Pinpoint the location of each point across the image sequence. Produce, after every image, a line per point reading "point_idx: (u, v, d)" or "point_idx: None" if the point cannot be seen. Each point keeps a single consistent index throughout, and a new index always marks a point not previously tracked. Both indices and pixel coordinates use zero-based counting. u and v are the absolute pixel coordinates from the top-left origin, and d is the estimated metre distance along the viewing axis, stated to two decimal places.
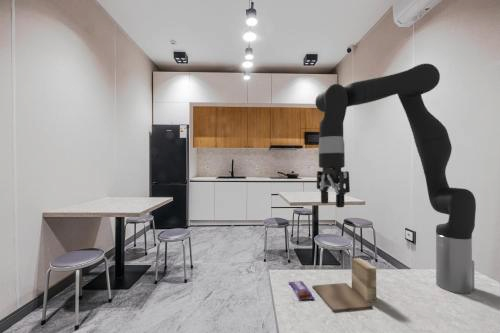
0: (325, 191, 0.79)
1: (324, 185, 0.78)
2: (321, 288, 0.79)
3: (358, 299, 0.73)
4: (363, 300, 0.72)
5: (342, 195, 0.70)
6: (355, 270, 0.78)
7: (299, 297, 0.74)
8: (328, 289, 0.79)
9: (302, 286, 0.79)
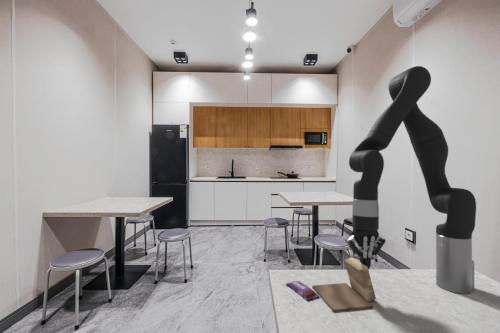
0: None
1: None
2: (321, 288, 0.79)
3: (358, 299, 0.73)
4: (363, 300, 0.72)
5: None
6: (349, 271, 0.78)
7: (306, 297, 0.74)
8: (328, 289, 0.79)
9: (303, 286, 0.79)
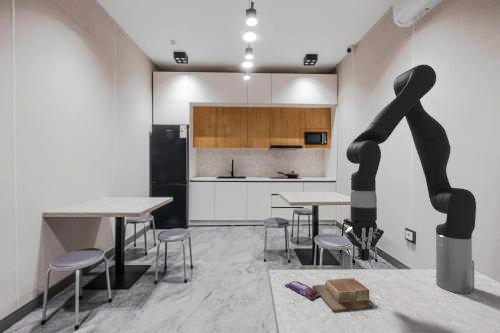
0: None
1: None
2: (321, 288, 0.79)
3: None
4: (363, 300, 0.72)
5: None
6: None
7: (310, 297, 0.74)
8: None
9: (303, 286, 0.80)
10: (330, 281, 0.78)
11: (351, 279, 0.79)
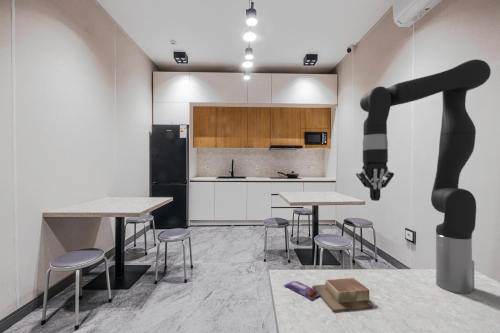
0: None
1: None
2: (321, 288, 0.79)
3: None
4: (363, 300, 0.72)
5: None
6: None
7: (310, 297, 0.74)
8: None
9: (303, 286, 0.79)
10: (330, 281, 0.78)
11: (351, 279, 0.79)
